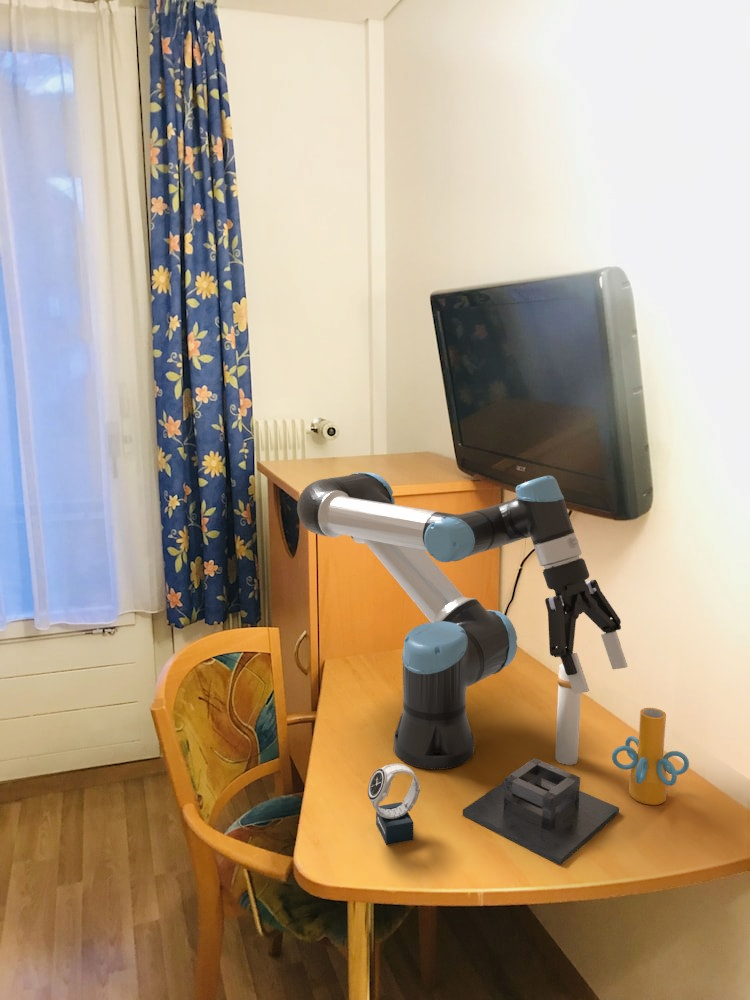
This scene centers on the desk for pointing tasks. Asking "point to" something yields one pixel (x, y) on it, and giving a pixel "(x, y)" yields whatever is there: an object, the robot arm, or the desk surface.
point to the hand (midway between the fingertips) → (601, 679)
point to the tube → (567, 721)
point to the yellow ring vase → (650, 760)
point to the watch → (393, 816)
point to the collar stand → (542, 811)
